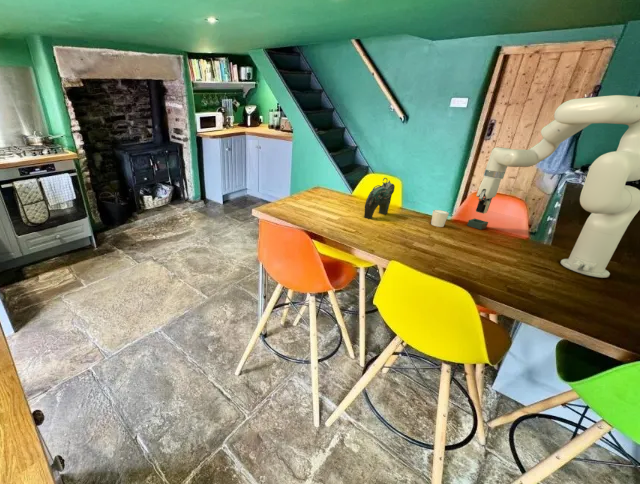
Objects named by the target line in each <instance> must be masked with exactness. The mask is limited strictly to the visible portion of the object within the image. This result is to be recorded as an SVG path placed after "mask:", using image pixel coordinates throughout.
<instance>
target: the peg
mask: <svg viewBox="0 0 640 484" xmlns="http://www.w3.org/2000/svg"><path fill="white" fill-rule="evenodd" d="M483 200H484V199H483ZM484 201H485V200H484ZM489 204H491V203H490V201H487V202H486V204H485V205H486V207H485V210H484V212H483V213H481V212H477V211H476V210H475V212H476V213H480V214H483V215H484V214H487V213H488V211H489V208H490V205H489ZM488 207H489V208H488ZM487 210H488V211H487Z"/></svg>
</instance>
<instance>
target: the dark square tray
mask: <svg viewBox="0 0 640 484" xmlns="http://www.w3.org/2000/svg"><path fill="white" fill-rule="evenodd" d="M488 225H489V222H488V221H485V220H481V219H478V218H471V219H469V220H468V222H467V224H466V226H467V227H470V228H474V229H477V230H485V229H486V228H487V227H488Z"/></svg>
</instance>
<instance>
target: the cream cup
mask: <svg viewBox="0 0 640 484" xmlns="http://www.w3.org/2000/svg"><path fill="white" fill-rule="evenodd" d="M449 215H450V213H449V212H448V211H446V210H441V209H432V215H431V221H430V225H432V226H434V227H438V228H444V227H445V224H446V222H447V220H448V217H449Z"/></svg>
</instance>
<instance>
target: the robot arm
mask: <svg viewBox="0 0 640 484" xmlns="http://www.w3.org/2000/svg"><path fill="white" fill-rule="evenodd" d="M553 118H554V119H553V120H552V121H550V123H548V124H546V125H545V126H543V127H542V128H541V130H540V135H541V137H542V139H541V140H540V141H539V142H538V143H536V144H535V145H534V146H532V147H530V148H529V149H517V148H516V149H513V148H510V147H509V148H508V147H498V146H497V147H494V148H492V150H491V152H490V155H489V158H488V162H487V164H486V167H485V170H484V173H483V178H482V180H481V182H480V185H479V187H478V190H477V192H476V197H477V198H478V202H477V206H476V209H475V212H476V211H477V212H476V213H479V212H481V213H480V214H483V212H484V210H485V207H486V205H485V204H486V202H487V201H490V204H491V202H492V200H493V198H495V197H496V196H497V193H498V191H499V189H500V188H499V187H500V184H501V182H502V181H501V180H503V179H504V177H505V175H506V171H507V168H530V167H533V166H535V165H537V164H539V163H540V162H542V161H544V160H545V159H547V158H549V157H550V156H551V155H553V154H554V153H555V152H556V150H557V149H558V148H559V146H560V144H561V143H563V142H565V141H566V140H568V139H569V138H572V137H573V136H574V135H576V134H577V133H579V132H580V131H582V130H584V129H585V128H587V127H588V126H590V125H592V124H613V125H614V124H615V125H626V126H628V128H627V129H626V131H625V132H624V133H623V135H622V136H621V138H620V140H619V142H618V143H619V144H618V146H617V148H616V150H615V151H614V150H613V151H609V152H606V153H603V154H601V155H600V156H598V157H597V158H596V159H595V160H594V161H593V162H592V163H591V165H590V167H589V169H588V172H587V175H586V177H585V181H584V183H583V186H582V189H581V192H580V196H579V204H580V206H581V208H582V209H583V210H585V211H586V212H588V213H590V215H589V216H588V217H587V219H586V221H585V222H584V224H583V227H582V229H581V231H580V233H579V235H578V238H577V239H576V242H575V244H574V246H573V248H572V250H571V252H570V255H569V257H568V258H563V259H561V260H560V264H561V266H563V267H564V268H566V269H568V270H571V271H572V272H575V273H577V274H581V275H585V276H589V277H594V278H601V279H603V278H604V279H605V278H609V277H610V275H611V273H610V272H609V270H607V269H606V268H607V266H608V264H609V263H610V261H611V259H612V257H613V255H614V253H615V251H616V249H617V248H618V245H619V243H620V241H621V240H622V238H623V236H624V235H625V232H626V231H627V229H628V227H629V226H630V223H631V222H632V221H633V219H634V217H635V216H636V215H637V214H638V212H639V211H640V189H639V188H637V187H635V186H631V185H628V184H627V182H634V181H639V180H640V96H635V95H623V94H613V95H601V96H592V97H580V98H572V99H569V100H567V101H564V102H562V103H561V104H560V105H559V106H558V107H556V109H555V111H554V114H553ZM626 184H627V185H626ZM484 200H485V201H484ZM490 204H489V207H488V210H487V212H488V211H489V208H490Z"/></svg>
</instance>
